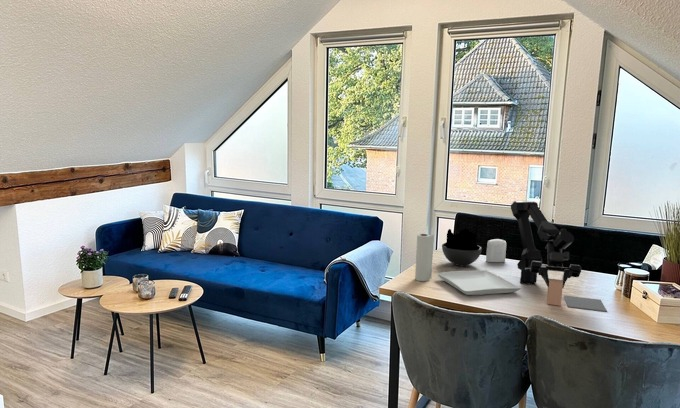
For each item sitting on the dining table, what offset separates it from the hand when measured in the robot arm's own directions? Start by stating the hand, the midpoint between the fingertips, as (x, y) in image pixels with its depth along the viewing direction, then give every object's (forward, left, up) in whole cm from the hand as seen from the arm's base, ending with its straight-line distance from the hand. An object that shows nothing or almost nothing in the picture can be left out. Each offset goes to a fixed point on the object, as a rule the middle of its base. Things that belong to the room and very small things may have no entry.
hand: (555, 287), depth 194 cm
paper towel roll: (-55, +12, -8) cm, 57 cm away
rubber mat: (+12, +6, -7) cm, 15 cm away
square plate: (-31, +12, -8) cm, 34 cm away
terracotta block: (0, +1, -7) cm, 7 cm away
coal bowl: (-41, +46, -8) cm, 62 cm away
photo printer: (-24, +61, -8) cm, 66 cm away
